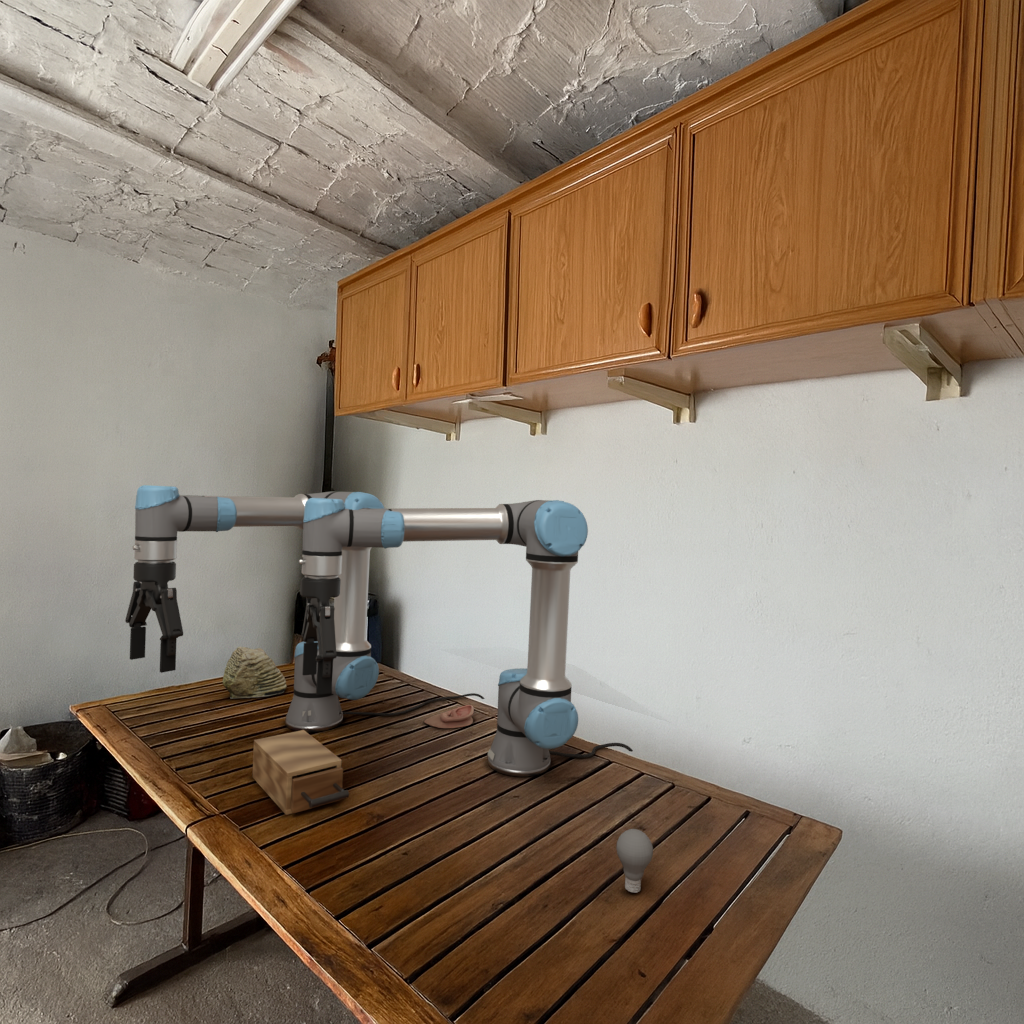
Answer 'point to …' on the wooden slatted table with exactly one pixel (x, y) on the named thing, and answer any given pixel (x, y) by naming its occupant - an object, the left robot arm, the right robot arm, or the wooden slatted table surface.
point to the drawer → (317, 789)
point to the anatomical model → (452, 718)
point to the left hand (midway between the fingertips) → (151, 664)
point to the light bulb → (634, 857)
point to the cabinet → (288, 763)
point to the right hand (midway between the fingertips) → (316, 683)
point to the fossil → (252, 674)
